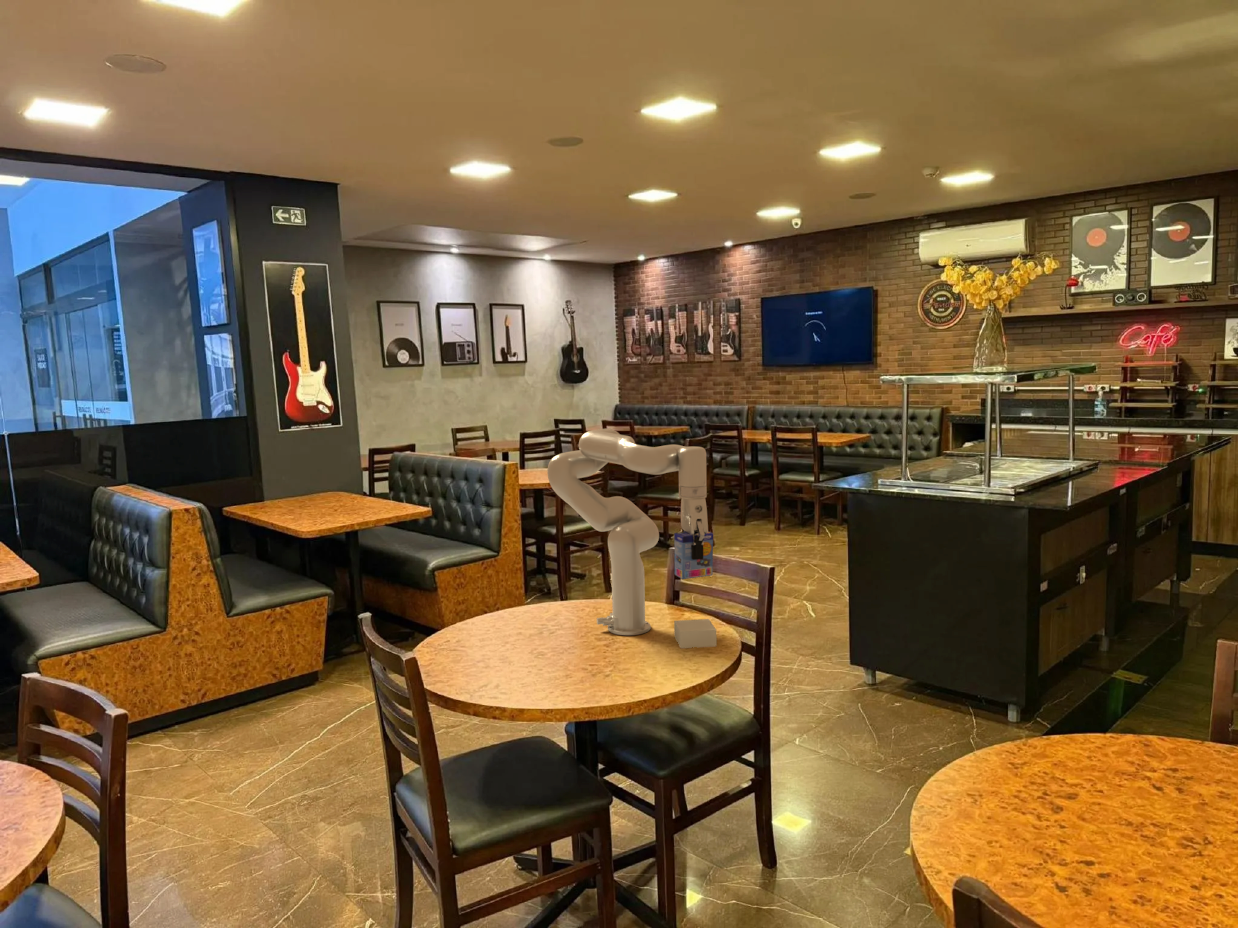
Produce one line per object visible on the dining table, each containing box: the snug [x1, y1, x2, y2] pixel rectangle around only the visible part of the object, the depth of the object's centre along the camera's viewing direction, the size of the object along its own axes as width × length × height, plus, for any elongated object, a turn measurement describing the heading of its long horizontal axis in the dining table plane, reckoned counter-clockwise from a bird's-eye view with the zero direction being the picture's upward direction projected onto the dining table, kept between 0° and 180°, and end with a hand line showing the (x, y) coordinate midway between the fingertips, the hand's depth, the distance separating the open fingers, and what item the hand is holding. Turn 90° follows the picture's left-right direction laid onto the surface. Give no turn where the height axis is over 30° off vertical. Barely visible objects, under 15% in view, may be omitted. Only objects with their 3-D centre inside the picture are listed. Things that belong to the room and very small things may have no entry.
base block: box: [673, 618, 717, 649], centre depth 236 cm, size 10×10×5 cm
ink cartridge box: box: [673, 530, 714, 580], centre depth 233 cm, size 10×6×14 cm, turn 115°
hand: (693, 555), depth 233 cm, fingers closed on ink cartridge box, 5 cm apart
